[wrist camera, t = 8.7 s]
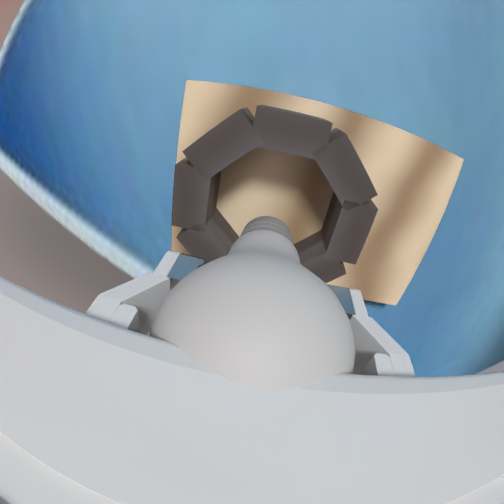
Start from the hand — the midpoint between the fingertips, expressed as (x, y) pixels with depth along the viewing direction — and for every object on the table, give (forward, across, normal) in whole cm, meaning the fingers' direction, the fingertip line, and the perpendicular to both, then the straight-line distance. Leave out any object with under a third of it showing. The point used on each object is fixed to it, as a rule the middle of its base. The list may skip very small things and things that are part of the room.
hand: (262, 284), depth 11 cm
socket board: (+11, -3, 0) cm, 11 cm away
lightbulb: (+5, 0, 0) cm, 5 cm away
